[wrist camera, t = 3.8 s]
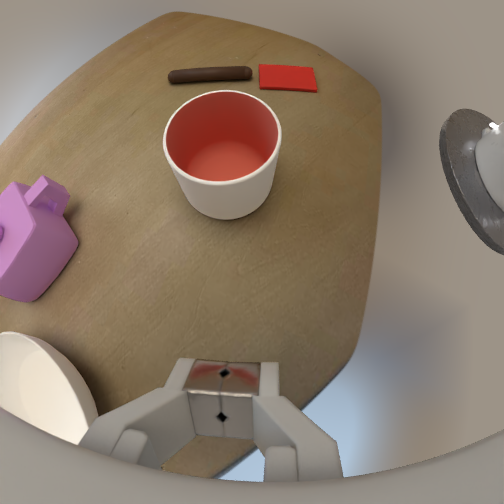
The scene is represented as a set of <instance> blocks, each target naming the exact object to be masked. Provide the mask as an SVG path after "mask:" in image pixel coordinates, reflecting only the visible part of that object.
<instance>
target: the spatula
mask: <svg viewBox="0 0 504 504" xmlns="http://www.w3.org/2000/svg"><path fill="white" fill-rule="evenodd" d="M251 76H252V70H251V68H249V67H247V66H232V67H207V68H193V69H182V70H173V71H171V72H170V73H169V74H168V80H169V81H170V82H171V83H180V82H192V81H207V80H233V79H249V78H250V77H251ZM259 83H260V89H273V90H293V91H307V92H317V86H316V81H315V76H314V72H313V68H310V67H299V66H286V65H263V64H259Z"/></svg>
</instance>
